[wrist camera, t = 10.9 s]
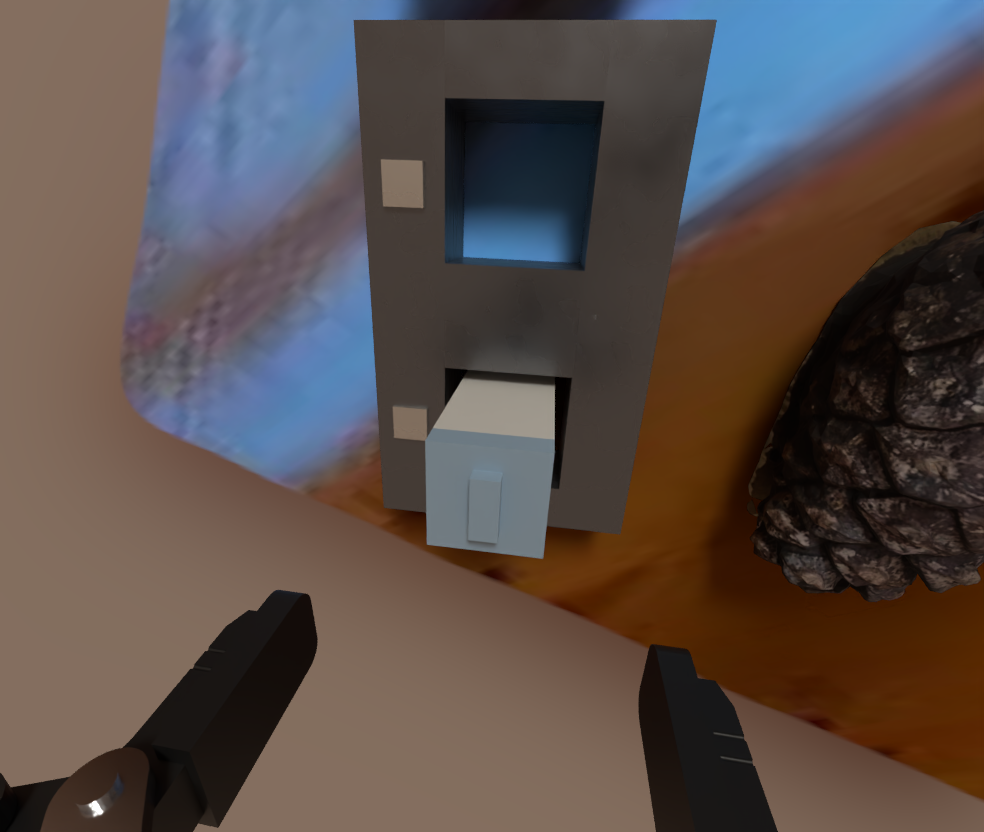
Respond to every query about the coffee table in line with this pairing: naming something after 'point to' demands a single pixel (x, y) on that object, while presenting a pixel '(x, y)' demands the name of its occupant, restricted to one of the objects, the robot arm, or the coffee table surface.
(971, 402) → the pine cone
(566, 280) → the panel
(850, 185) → the coffee table surface
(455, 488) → the plug
